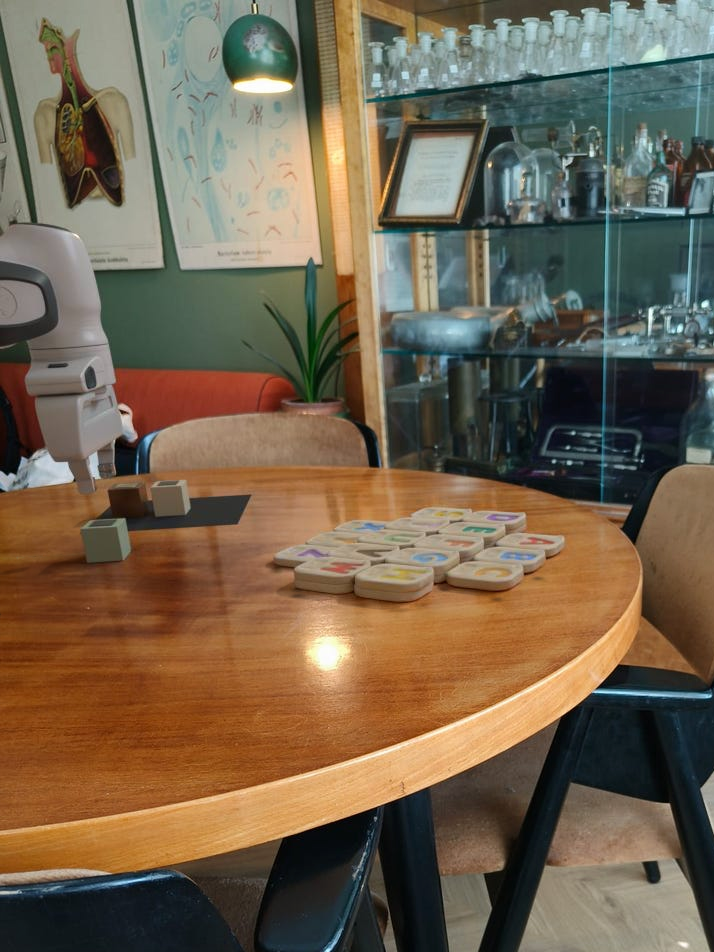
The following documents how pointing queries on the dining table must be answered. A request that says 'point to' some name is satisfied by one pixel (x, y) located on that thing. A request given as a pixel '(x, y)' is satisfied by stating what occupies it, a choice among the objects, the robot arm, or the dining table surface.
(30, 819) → the dining table surface
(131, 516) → the dark chocolate cube
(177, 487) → the beige hollow cube
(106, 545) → the olive open-top cube
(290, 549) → the alphabet tiles
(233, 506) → the word mat
